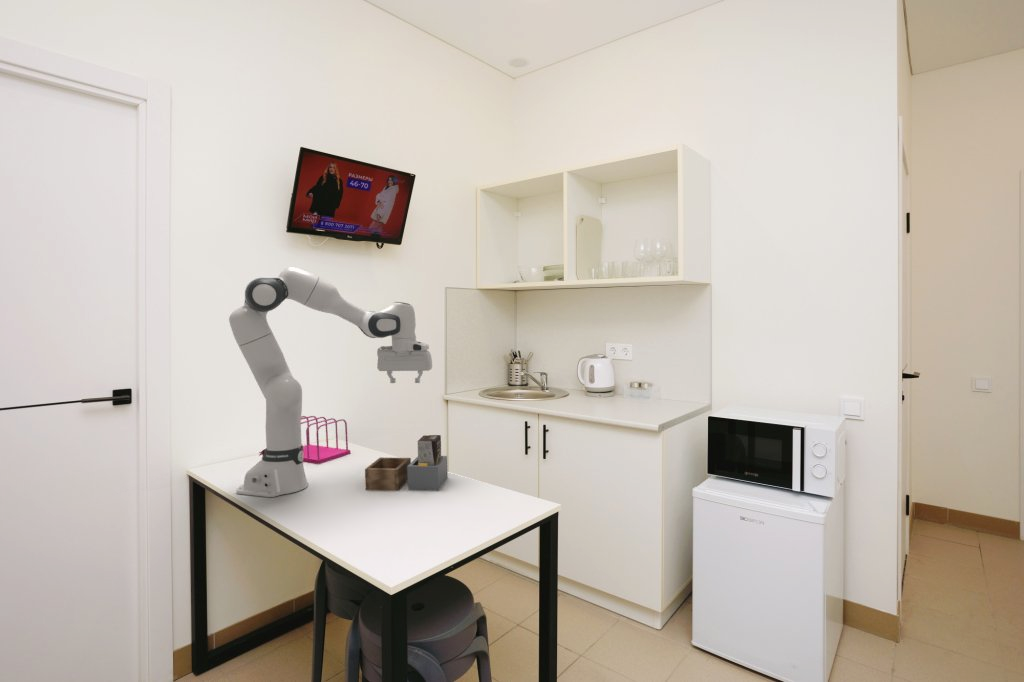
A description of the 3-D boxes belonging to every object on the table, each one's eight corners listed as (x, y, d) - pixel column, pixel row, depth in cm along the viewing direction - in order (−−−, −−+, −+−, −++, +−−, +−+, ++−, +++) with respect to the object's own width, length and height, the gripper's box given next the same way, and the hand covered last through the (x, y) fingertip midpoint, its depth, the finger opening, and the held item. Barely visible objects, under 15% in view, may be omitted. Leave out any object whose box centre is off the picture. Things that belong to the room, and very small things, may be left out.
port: (408, 490, 177) (407, 464, 177) (419, 477, 190) (418, 453, 190) (438, 490, 176) (437, 464, 175) (447, 477, 189) (447, 453, 189)
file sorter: (318, 464, 210) (317, 425, 209) (275, 457, 221) (274, 420, 220) (350, 454, 225) (349, 417, 224) (309, 448, 237) (307, 413, 236)
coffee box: (436, 488, 178) (435, 440, 177) (418, 488, 179) (416, 440, 178) (442, 479, 187) (441, 434, 187) (424, 479, 188) (423, 434, 187)
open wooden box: (365, 489, 178) (364, 469, 178) (380, 476, 192) (380, 457, 192) (398, 490, 177) (397, 469, 176) (411, 476, 191) (410, 457, 191)
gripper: (374, 346, 195) (375, 384, 195) (428, 346, 193) (429, 383, 193) (380, 345, 201) (381, 381, 202) (432, 345, 199) (433, 381, 200)
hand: (405, 382), depth 198 cm, fingers open, 8 cm apart
